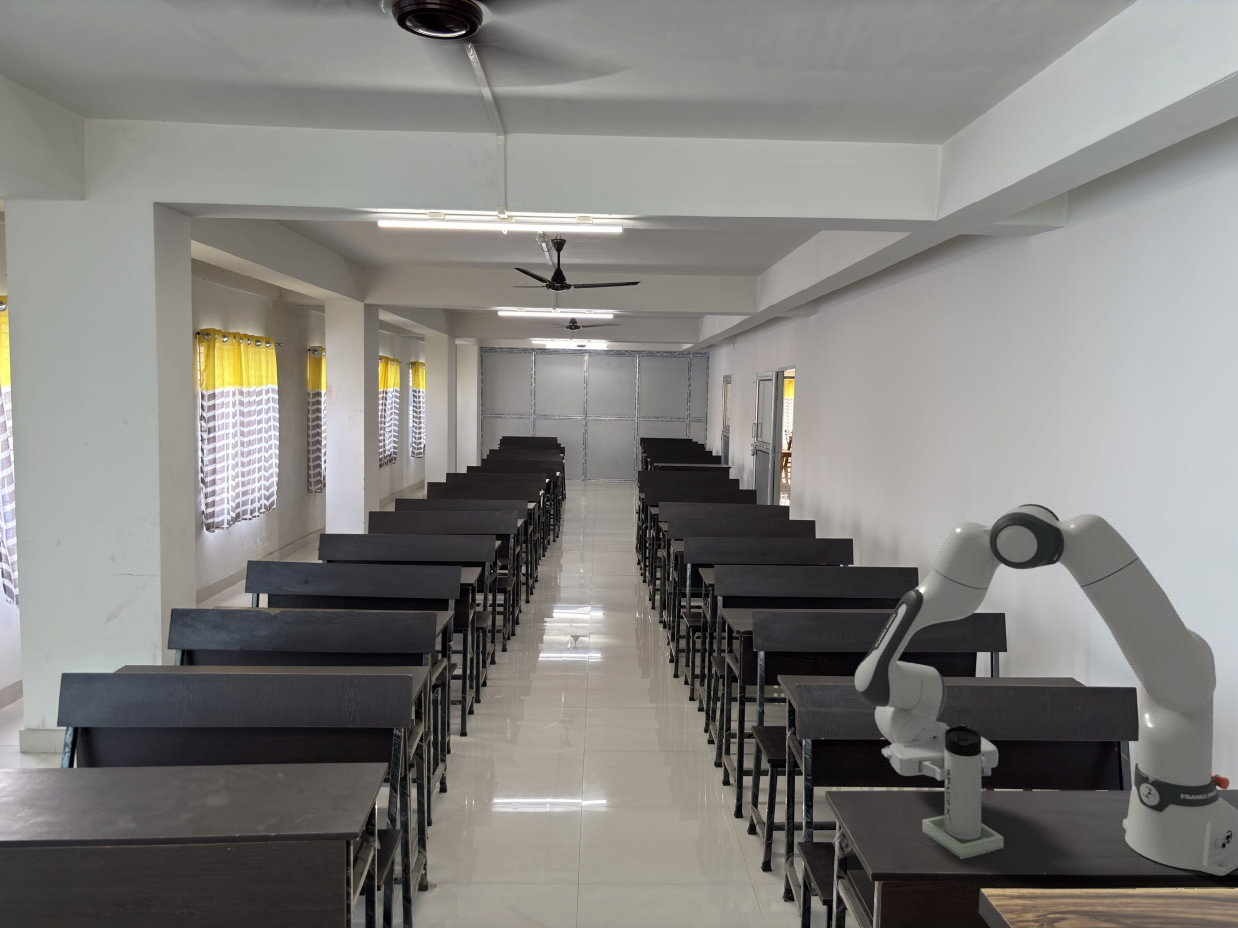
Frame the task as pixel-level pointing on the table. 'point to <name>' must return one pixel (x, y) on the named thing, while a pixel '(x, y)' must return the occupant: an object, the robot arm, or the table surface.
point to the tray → (937, 832)
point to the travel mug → (963, 784)
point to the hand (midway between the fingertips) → (965, 774)
